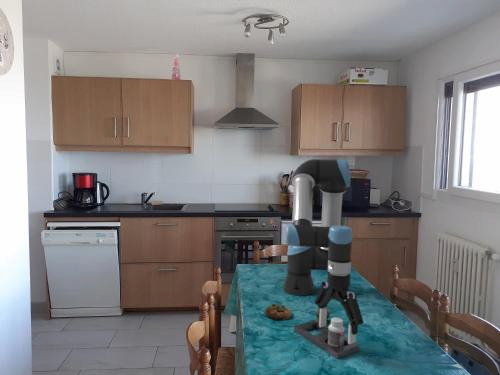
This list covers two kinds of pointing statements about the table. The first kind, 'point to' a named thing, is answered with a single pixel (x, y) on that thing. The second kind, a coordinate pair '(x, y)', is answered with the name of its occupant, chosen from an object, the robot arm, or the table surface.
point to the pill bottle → (336, 333)
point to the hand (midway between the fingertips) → (336, 334)
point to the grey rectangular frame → (324, 339)
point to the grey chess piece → (327, 314)
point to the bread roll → (277, 312)
